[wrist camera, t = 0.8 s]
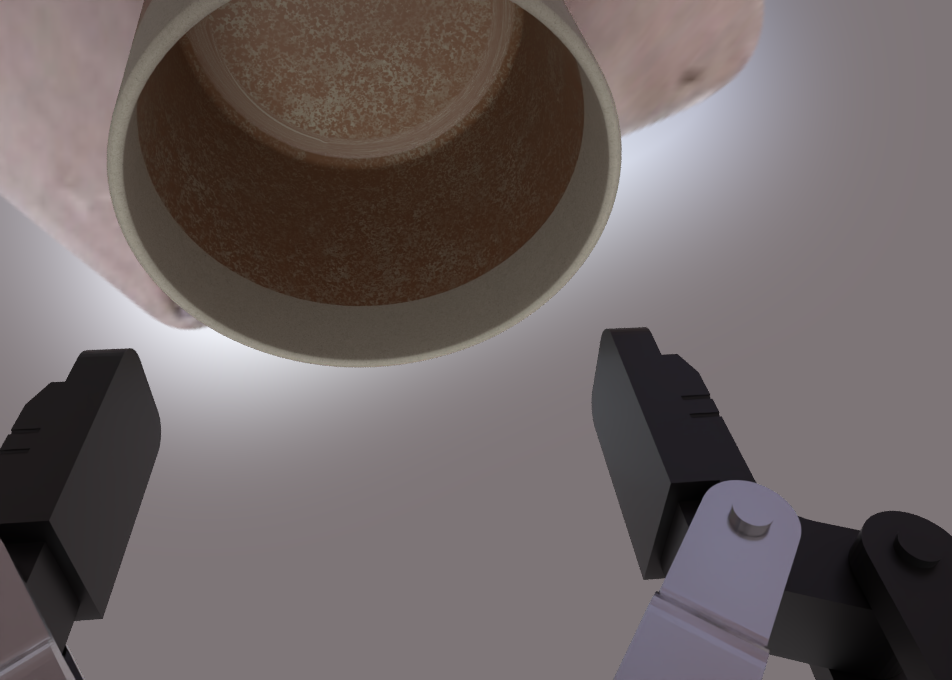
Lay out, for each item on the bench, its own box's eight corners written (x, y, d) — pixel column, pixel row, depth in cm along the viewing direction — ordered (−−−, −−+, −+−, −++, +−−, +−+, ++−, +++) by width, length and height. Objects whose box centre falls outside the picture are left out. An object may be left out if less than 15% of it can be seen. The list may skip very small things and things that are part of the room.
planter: (425, -307, 24) (505, -195, 15) (577, 72, 36) (673, 259, 27) (67, -60, 28) (-34, 146, 19) (311, 212, 40) (319, 417, 31)
